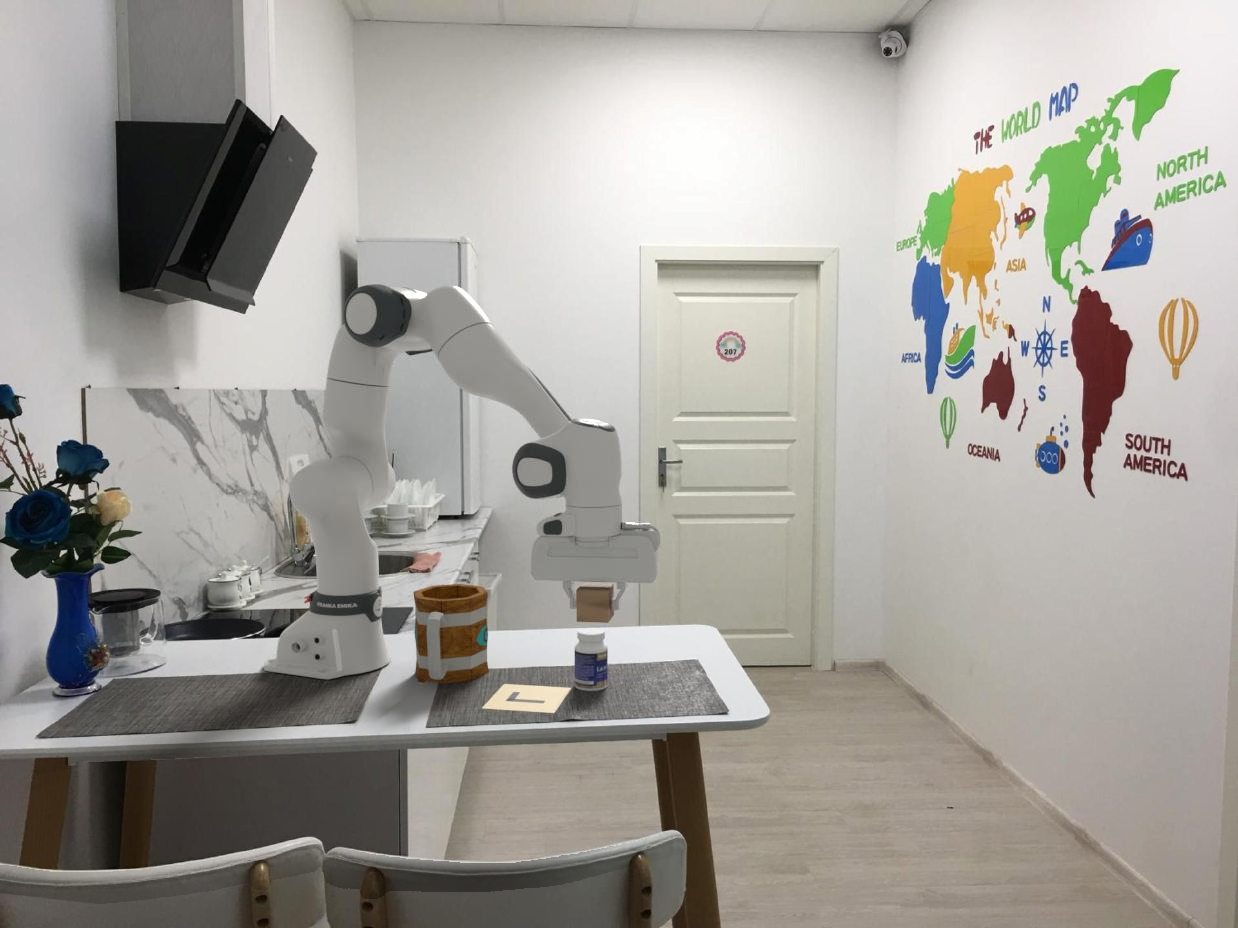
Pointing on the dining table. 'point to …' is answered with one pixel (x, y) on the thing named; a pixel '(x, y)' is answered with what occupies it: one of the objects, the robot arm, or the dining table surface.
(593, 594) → the walnut block
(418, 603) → the mug
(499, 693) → the letter card
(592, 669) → the pill bottle
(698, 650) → the dining table surface
